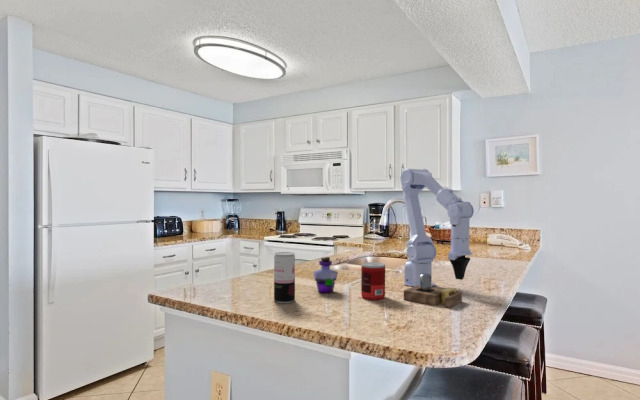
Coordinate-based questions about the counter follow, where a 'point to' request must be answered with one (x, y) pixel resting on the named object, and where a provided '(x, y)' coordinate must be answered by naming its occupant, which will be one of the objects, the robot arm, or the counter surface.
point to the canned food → (373, 281)
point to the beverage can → (284, 277)
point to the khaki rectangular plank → (446, 293)
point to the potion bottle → (325, 276)
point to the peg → (425, 282)
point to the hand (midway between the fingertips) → (459, 279)
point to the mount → (431, 296)
